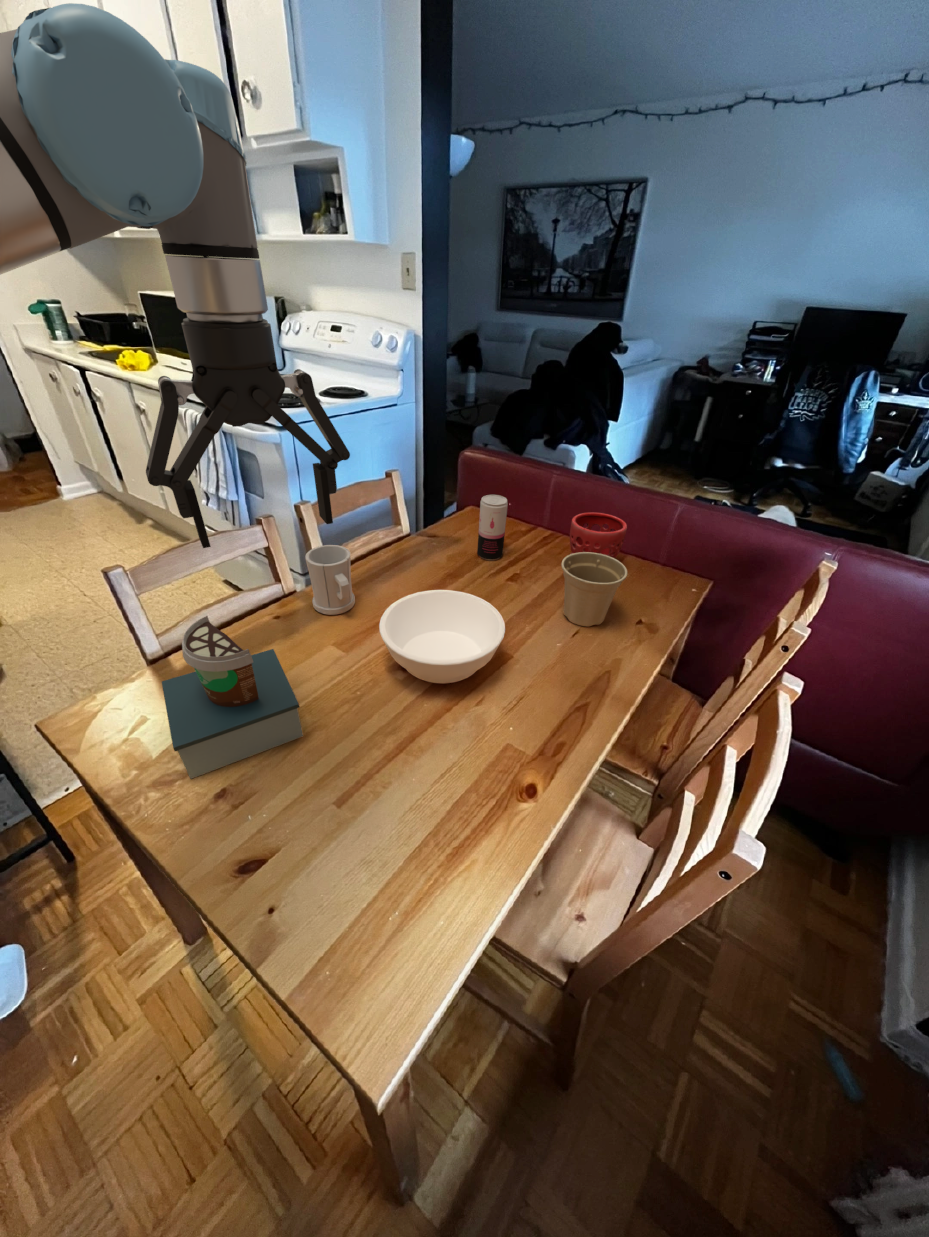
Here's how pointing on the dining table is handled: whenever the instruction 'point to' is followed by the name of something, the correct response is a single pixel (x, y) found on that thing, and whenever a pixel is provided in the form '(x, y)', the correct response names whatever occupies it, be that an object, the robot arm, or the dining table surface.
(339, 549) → the cup
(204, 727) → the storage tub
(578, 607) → the flower pot
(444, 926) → the dining table surface
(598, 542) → the flower pot
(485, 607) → the bowl
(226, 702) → the food container
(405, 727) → the dining table surface
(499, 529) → the beverage can
